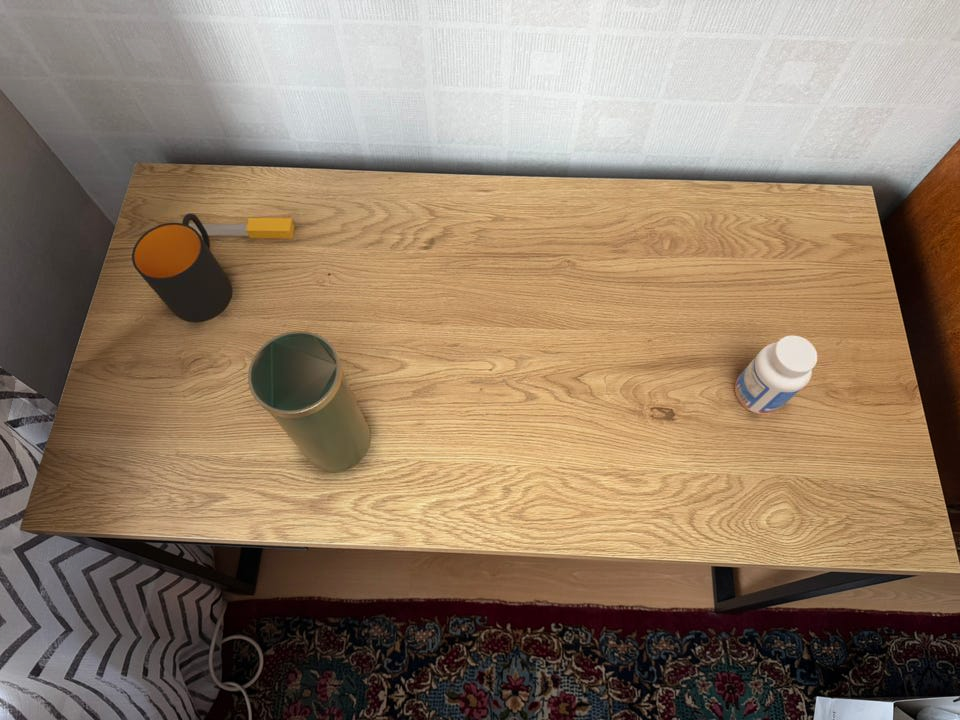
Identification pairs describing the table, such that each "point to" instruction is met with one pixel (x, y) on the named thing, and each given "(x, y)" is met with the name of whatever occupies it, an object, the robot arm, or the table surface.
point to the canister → (310, 399)
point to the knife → (252, 229)
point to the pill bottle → (776, 374)
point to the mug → (183, 270)
